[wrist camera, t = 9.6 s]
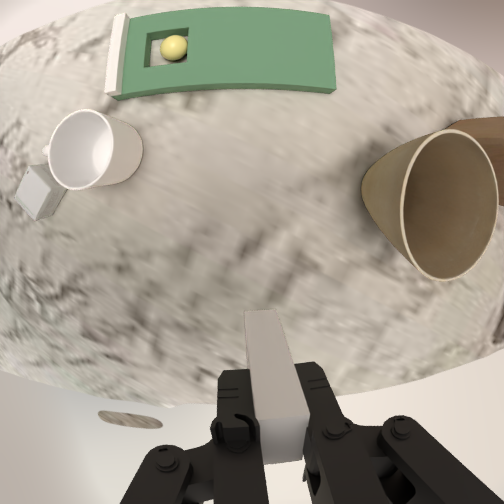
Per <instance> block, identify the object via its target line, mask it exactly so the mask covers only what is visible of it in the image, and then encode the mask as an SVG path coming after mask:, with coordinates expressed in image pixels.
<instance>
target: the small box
mask: <svg viewBox="0 0 504 504" xmlns="http://www.w3.org/2000/svg"><path fill="white" fill-rule="evenodd" d="M66 190H67V188H65V187H63V186H62V185H60V184H59V183H58V182H57V181H56V180H55V178H54V177H53V175H52V173H51V171H50V168H49V165H48V164H45V165H30V166H28V168H27V170H26V172H25V174H24V176H23V179H22V181H21V183H20V185H19V187H18V190H17V192H16V194H15V197H14V199H15V200H16V201H17V202H18V203H19V205H20V206H21V207H22V208H23V209H24V210H25V211H26V213H27V214H28V215H29V216H30V217H31V218H32V219H33V220H34V221H37V220H39V219H42V218H45V217H48V216H51V215H53V213H54V211H55V209H56V207H57V205H58V204H59V202H60V200H61V198H62V197H63V195H64V193H65V192H66Z"/></svg>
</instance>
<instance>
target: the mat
mask: <svg viewBox="0 0 504 504" xmlns="http://www.w3.org/2000/svg"><path fill="white" fill-rule="evenodd" d="M173 35H179V36H188V48H187V62H185V63H175V64H167V65H159V66H152V67H149V62H150V51H151V41H152V40H157V39H163V38H167V37H169V36H173ZM211 89H278V90H295V91H307V92H318V93H327V94H330V93H332V92H333V91H335V90H336V76H335V63H334V52H333V42H332V33H331V25H330V17H329V15H326V14H320V13H314V12H307V11H299V10H290V9H279V8H264V7H213V8H198V9H187V10H178V11H170V12H164V13H157V14H151V15H146V16H141V17H136V18H131V19H130V18H129V17H128V15H127V14H126V13H121V14H118V15H115V18H114V23H113V29H112V34H111V40H110V47H109V54H108V62H107V71H106V81H105V93H106V94H107V95H109V96H111V97H113V98H114V99H116V100H123V99H129V98H135V97H141V96H148V95H155V94H163V93H172V92H182V91H195V90H211Z"/></svg>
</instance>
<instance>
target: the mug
mask: <svg viewBox="0 0 504 504" xmlns="http://www.w3.org/2000/svg"><path fill="white" fill-rule="evenodd" d="M42 153H43V155H44V156H46V157H48V163H49V168H50V171H51V173H52V175H53V177H54V178H55V180H56V181H57V182H58V183H59V184H60V185H62V186H63V187H65V188H67V189H70V190H82V189H88V188H93V187H99V186H105V185H111V184H116V183H120V182H122V181H124V180H126V179H128V178H129V177H130V176H131V175H132V174H133V173H134V172H135V171H136V170H137V168H138V166H139V164H140V162H141V159H142V154H143V145H142V141H141V138H140V135H139V134H138V132H137V131H136V130H135V129H134V128H133V127H132V126H130V125H129V124H127V123H125V122H122V121H120V120H118V119H115V118H113V117H110V116H108V115H105V114H102V113H100V112H97V111H95V110H91V109H82V110H78V111H75V112H73V113H71V114H69V115H68V116H66V117H65V118H64V119H63V120H62V121H61V122H60V123H59V124H58V126H57V127H56V129H55V130H54V132H53V134H52V137H51V139H50V143H49V144H48V145H46V146H44V148H43V150H42Z"/></svg>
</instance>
